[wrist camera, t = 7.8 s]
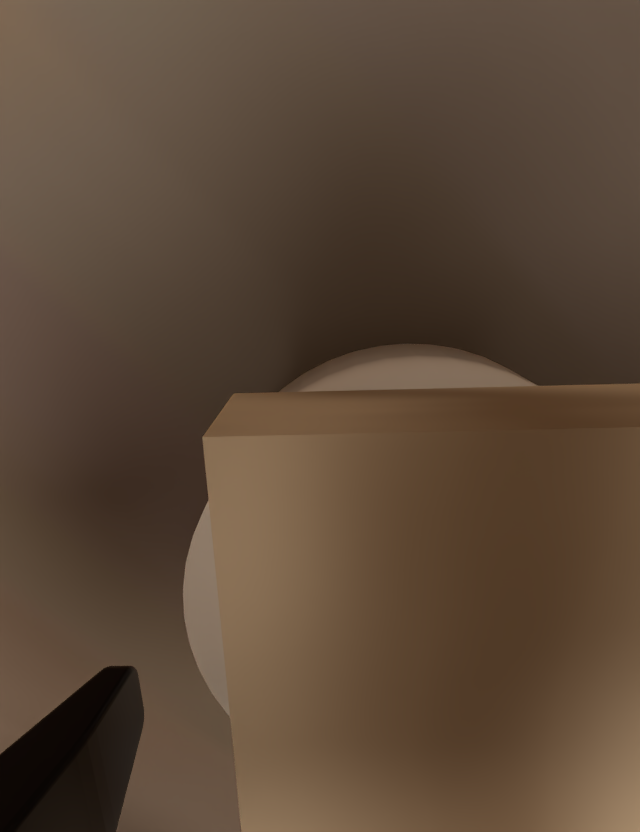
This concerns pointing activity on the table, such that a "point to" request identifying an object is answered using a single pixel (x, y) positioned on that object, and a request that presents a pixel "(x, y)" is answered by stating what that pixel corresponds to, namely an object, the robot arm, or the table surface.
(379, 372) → the bowl
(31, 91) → the table surface
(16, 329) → the table surface
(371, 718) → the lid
